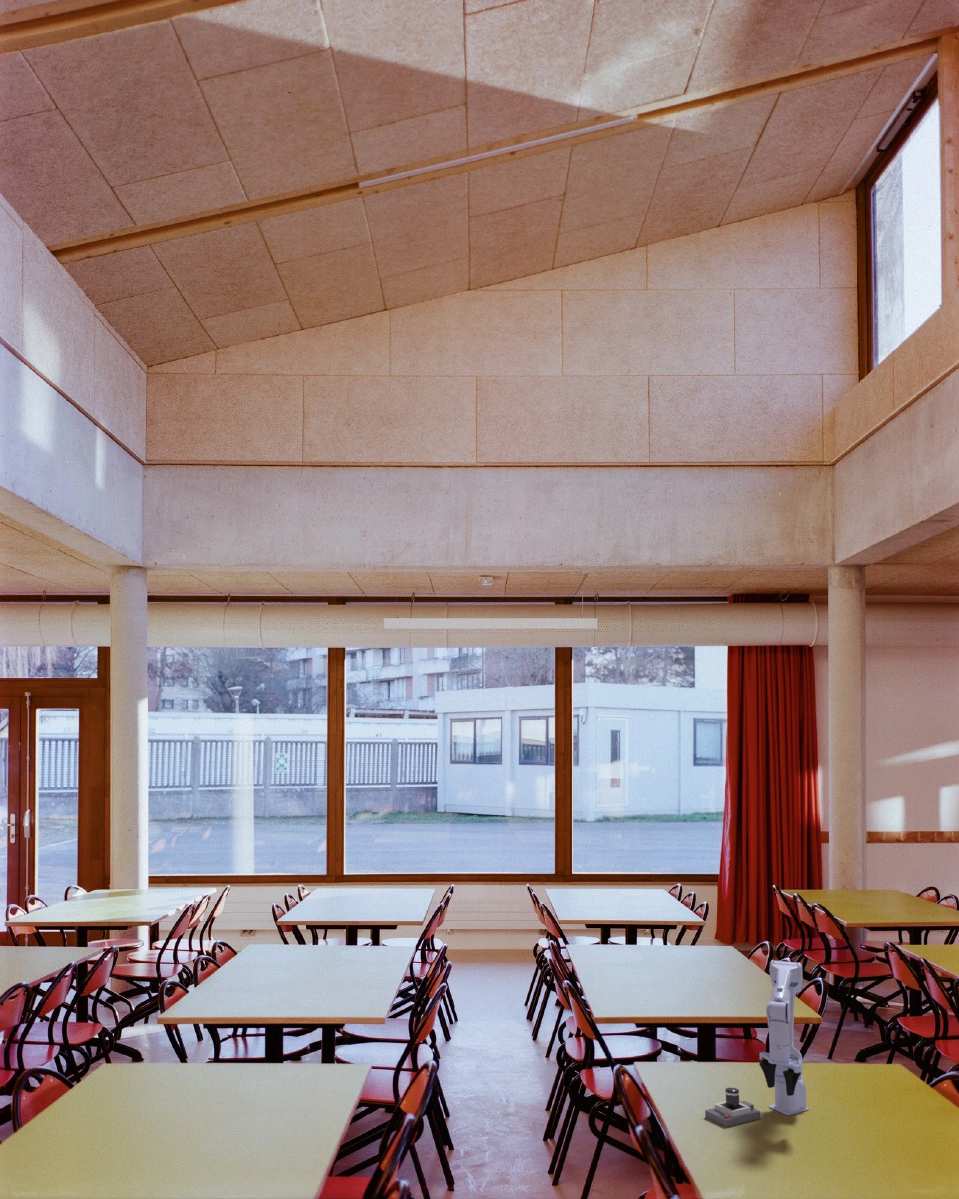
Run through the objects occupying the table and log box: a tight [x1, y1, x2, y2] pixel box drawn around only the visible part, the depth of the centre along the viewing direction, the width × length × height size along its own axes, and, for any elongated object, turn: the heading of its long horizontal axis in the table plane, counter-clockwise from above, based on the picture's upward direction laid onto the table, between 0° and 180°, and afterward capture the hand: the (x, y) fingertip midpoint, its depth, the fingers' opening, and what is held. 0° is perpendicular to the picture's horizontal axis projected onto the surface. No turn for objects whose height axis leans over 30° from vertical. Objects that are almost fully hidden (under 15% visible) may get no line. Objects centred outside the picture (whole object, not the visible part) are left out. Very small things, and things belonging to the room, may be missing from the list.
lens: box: [725, 1087, 740, 1110], centre depth 308 cm, size 4×4×6 cm
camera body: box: [704, 1100, 761, 1128], centre depth 308 cm, size 14×9×4 cm, turn 120°
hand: (780, 1091), depth 302 cm, fingers open, 7 cm apart
